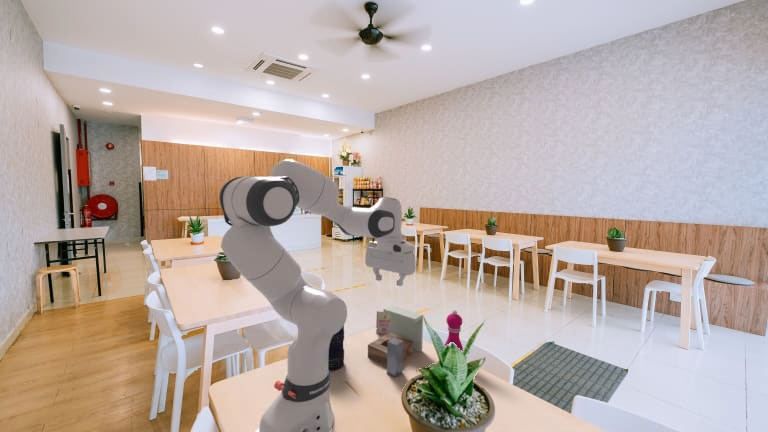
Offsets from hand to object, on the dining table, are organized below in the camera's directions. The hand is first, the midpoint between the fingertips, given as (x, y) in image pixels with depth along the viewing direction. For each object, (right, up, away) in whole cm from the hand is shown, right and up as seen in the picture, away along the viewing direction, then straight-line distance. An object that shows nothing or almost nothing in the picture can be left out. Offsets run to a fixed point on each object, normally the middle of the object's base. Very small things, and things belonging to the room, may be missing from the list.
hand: (389, 282), depth 110 cm
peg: (+2, -33, +3) cm, 33 cm away
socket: (+1, -32, +15) cm, 36 cm away
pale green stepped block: (+6, -32, +21) cm, 39 cm away
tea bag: (-2, -31, +36) cm, 47 cm away
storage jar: (-22, -33, +8) cm, 40 cm away
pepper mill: (+25, -33, +12) cm, 43 cm away
